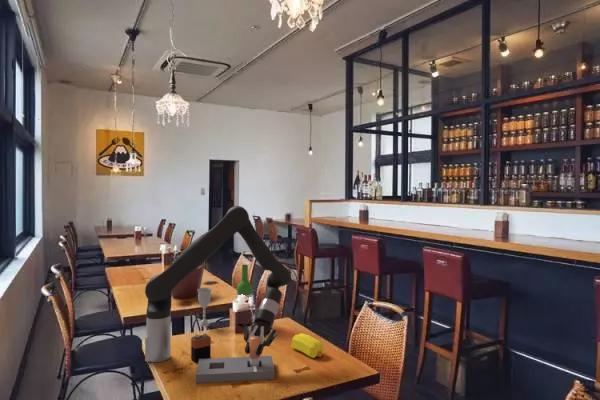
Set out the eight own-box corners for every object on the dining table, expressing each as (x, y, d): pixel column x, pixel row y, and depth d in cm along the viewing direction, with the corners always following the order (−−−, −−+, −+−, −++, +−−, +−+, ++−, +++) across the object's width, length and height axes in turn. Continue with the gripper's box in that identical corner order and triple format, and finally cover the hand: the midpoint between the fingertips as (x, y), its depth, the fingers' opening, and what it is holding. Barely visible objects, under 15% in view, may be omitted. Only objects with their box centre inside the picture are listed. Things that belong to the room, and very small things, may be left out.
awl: (249, 371, 158) (249, 339, 158) (249, 367, 162) (249, 336, 162) (260, 371, 159) (260, 339, 158) (259, 366, 163) (259, 335, 162)
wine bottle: (249, 326, 212) (249, 266, 211) (234, 325, 213) (234, 266, 212) (254, 321, 219) (254, 264, 218) (239, 320, 221) (240, 263, 220)
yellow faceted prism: (300, 344, 190) (287, 348, 185) (301, 329, 190) (287, 332, 185) (328, 357, 176) (314, 361, 171) (328, 341, 176) (314, 345, 171)
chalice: (213, 323, 216) (214, 288, 215) (207, 327, 209) (207, 291, 209) (201, 322, 218) (201, 287, 217) (194, 326, 211) (194, 290, 211)
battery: (190, 359, 171) (190, 334, 171) (206, 355, 175) (206, 331, 175) (194, 363, 167) (195, 338, 167) (211, 359, 171) (211, 334, 171)
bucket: (196, 301, 257) (196, 260, 256) (160, 300, 257) (160, 259, 257) (206, 291, 281) (206, 253, 281) (173, 290, 282) (173, 253, 281)
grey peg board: (195, 383, 150) (195, 374, 150) (199, 366, 164) (199, 358, 164) (274, 379, 154) (274, 370, 154) (271, 363, 168) (271, 355, 168)
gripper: (248, 306, 169) (231, 346, 158) (280, 310, 164) (266, 352, 153) (254, 315, 174) (239, 355, 164) (285, 320, 169) (272, 361, 158)
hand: (252, 353), depth 158 cm, fingers closed on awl, 4 cm apart
